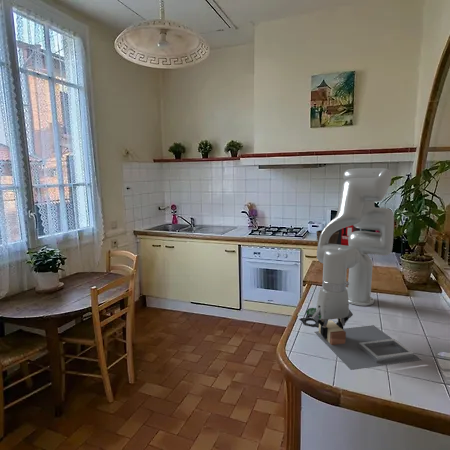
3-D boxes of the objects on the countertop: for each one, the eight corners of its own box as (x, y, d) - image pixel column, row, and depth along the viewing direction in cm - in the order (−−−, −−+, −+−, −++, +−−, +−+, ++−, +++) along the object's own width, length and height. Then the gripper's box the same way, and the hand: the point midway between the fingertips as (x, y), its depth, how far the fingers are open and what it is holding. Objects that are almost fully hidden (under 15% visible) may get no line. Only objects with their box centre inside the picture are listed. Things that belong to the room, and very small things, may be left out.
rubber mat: (314, 332, 116) (314, 331, 116) (373, 326, 120) (373, 325, 120) (350, 371, 93) (350, 369, 93) (421, 361, 98) (422, 359, 98)
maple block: (318, 332, 115) (319, 321, 115) (331, 330, 116) (331, 320, 116) (331, 345, 107) (332, 333, 106) (345, 343, 108) (345, 332, 107)
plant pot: (312, 252, 232) (313, 230, 229) (332, 251, 233) (333, 229, 231) (320, 257, 217) (321, 234, 214) (341, 256, 218) (342, 233, 216)
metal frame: (358, 347, 105) (358, 342, 105) (393, 342, 108) (393, 338, 107) (376, 362, 97) (376, 358, 96) (413, 357, 99) (414, 353, 99)
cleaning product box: (356, 248, 242) (358, 222, 239) (357, 250, 234) (359, 223, 231) (333, 246, 247) (335, 221, 244) (334, 249, 239) (335, 223, 235)
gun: (301, 306, 136) (326, 309, 133) (301, 309, 136) (326, 312, 133) (298, 323, 121) (326, 326, 118) (298, 326, 121) (326, 330, 118)
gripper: (350, 280, 114) (347, 328, 117) (305, 283, 110) (304, 333, 113) (363, 287, 106) (360, 338, 109) (315, 291, 103) (313, 344, 106)
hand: (331, 335), depth 111 cm, fingers closed on maple block, 5 cm apart
